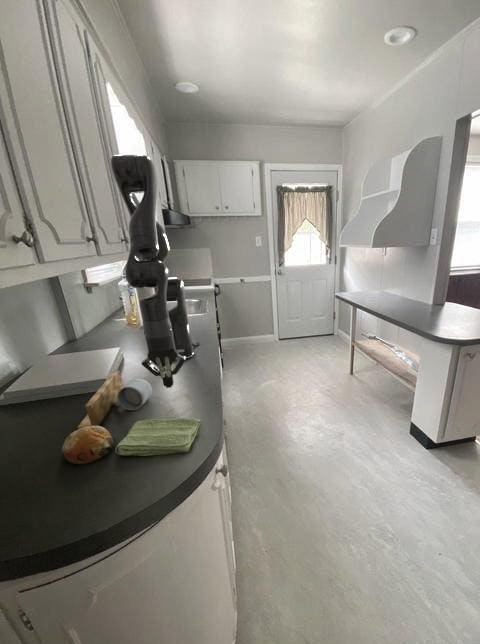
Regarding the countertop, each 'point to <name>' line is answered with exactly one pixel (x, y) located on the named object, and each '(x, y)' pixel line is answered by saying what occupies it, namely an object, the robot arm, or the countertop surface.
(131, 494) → the countertop surface
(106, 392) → the mottled tan rectangular block
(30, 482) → the countertop surface
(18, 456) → the countertop surface
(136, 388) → the ceramic mug
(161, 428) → the washcloth
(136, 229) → the robot arm
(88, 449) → the bread roll
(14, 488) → the countertop surface
